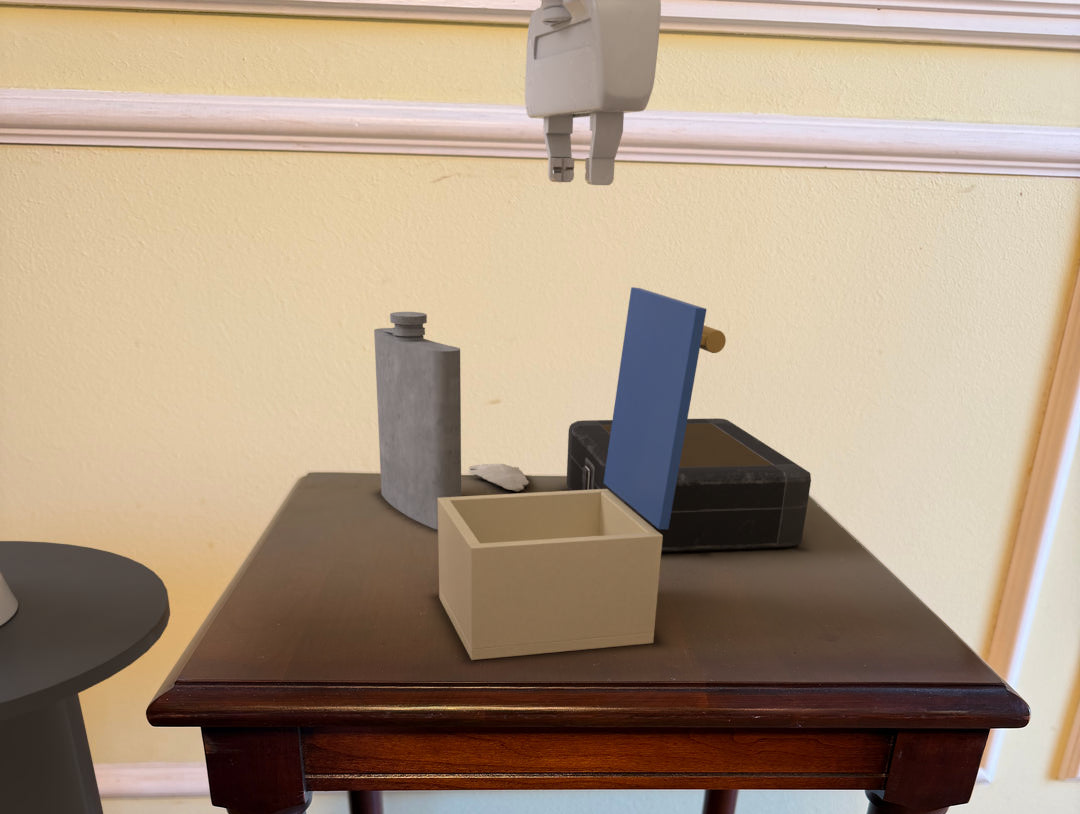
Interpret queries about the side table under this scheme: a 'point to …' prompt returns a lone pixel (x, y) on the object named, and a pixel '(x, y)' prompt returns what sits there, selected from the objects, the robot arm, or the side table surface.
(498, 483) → the arrowhead
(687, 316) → the lid
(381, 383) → the hip flask
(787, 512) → the cash box
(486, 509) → the chest
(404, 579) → the side table surface
